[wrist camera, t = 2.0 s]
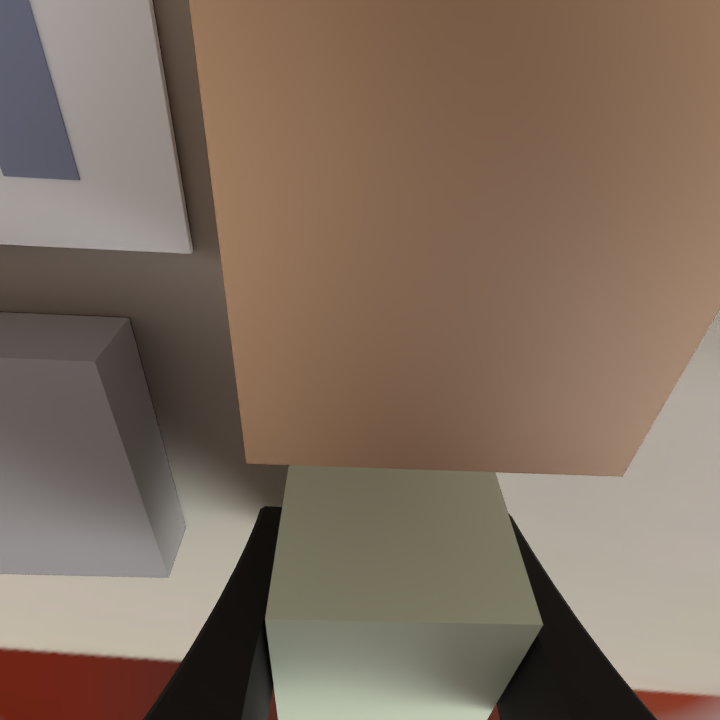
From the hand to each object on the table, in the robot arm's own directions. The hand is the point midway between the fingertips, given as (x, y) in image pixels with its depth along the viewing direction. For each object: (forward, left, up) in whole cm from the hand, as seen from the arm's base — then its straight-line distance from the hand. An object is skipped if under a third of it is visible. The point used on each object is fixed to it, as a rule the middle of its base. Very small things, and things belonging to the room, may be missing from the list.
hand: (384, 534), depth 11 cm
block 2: (0, 0, -1) cm, 1 cm away
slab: (+9, -2, -1) cm, 9 cm away
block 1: (0, -8, -2) cm, 8 cm away
